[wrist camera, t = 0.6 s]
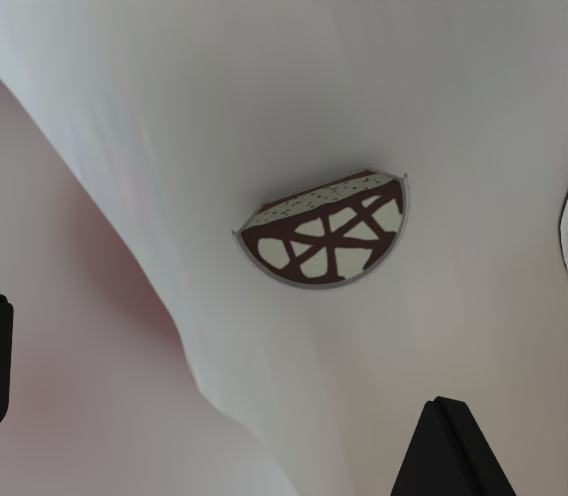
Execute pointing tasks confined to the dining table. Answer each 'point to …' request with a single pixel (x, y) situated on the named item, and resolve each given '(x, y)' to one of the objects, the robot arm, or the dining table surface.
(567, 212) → the food container
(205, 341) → the dining table surface
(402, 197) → the food container
